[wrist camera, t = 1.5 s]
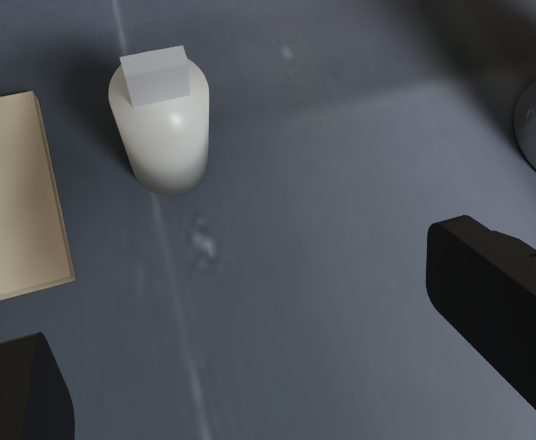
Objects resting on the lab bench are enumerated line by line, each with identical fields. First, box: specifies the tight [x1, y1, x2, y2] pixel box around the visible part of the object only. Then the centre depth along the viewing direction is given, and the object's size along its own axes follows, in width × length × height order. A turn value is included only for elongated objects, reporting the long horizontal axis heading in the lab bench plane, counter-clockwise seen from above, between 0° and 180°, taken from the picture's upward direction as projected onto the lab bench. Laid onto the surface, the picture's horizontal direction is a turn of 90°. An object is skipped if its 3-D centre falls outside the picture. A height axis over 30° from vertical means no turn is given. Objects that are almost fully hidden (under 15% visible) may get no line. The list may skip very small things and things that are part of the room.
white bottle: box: [109, 45, 209, 196], centre depth 27 cm, size 5×5×11 cm
